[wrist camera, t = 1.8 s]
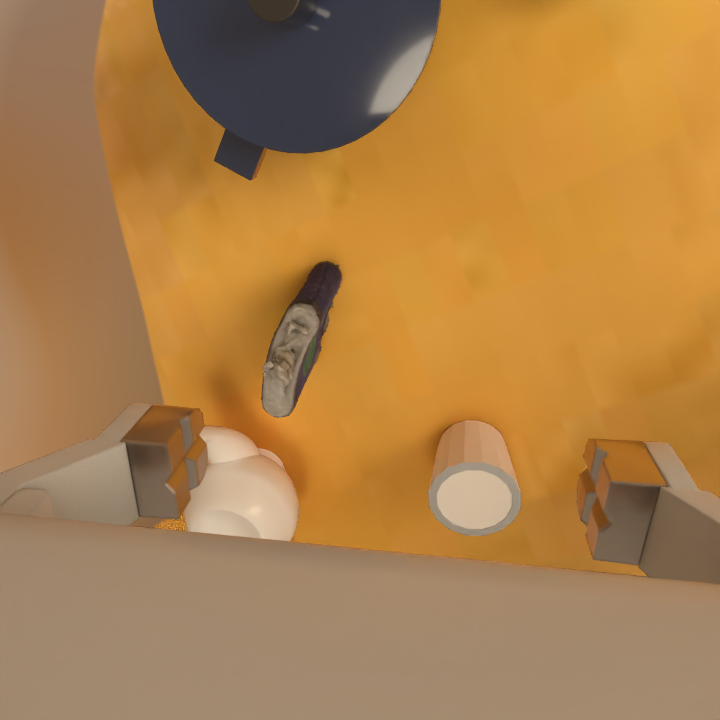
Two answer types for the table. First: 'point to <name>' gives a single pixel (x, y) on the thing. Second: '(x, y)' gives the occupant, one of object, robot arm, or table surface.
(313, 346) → the flask
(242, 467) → the teapot
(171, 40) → the pot lid
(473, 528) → the tan cup
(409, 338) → the table surface
